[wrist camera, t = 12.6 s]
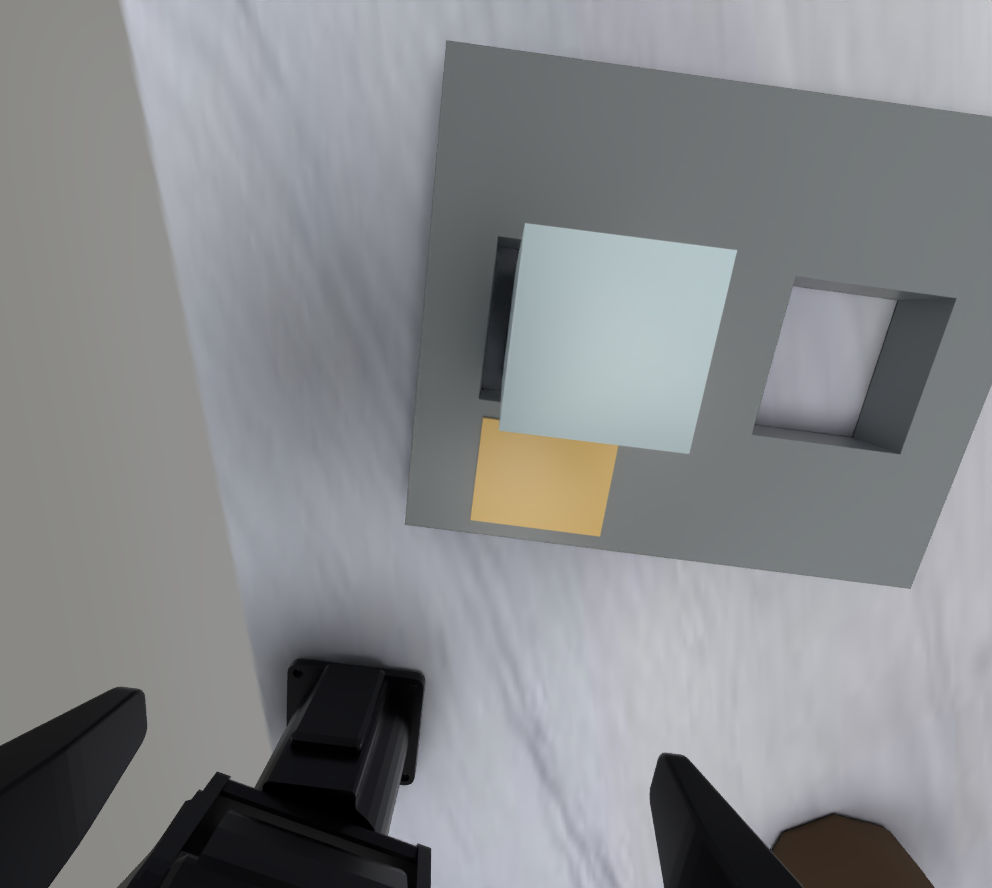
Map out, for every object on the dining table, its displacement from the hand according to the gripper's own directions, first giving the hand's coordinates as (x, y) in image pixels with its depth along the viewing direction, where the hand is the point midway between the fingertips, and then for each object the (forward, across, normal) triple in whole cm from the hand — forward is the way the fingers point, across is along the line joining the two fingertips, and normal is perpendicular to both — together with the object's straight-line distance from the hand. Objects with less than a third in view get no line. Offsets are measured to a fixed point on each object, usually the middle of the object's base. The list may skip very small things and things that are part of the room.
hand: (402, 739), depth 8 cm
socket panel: (+13, -8, -7) cm, 17 cm away
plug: (+13, -3, -7) cm, 15 cm away
